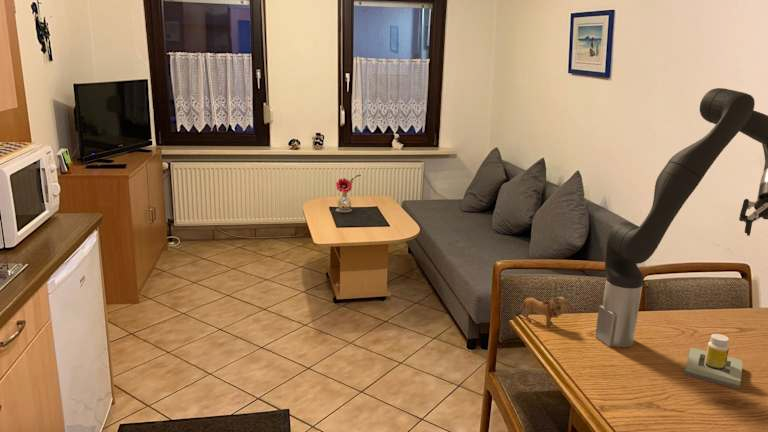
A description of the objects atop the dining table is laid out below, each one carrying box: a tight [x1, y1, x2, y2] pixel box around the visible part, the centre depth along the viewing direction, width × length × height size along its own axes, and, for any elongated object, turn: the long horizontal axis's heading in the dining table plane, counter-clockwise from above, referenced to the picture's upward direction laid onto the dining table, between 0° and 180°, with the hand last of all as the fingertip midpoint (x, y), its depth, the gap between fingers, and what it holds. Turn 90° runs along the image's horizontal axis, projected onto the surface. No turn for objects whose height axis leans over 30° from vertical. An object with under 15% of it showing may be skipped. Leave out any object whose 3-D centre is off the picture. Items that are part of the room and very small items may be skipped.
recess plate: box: [684, 347, 743, 390], centre depth 155 cm, size 12×12×2 cm
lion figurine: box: [514, 296, 568, 329], centre depth 179 cm, size 15×5×9 cm, turn 63°
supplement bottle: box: [704, 333, 730, 371], centre depth 154 cm, size 5×5×8 cm
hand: (767, 237), depth 163 cm, fingers open, 8 cm apart
